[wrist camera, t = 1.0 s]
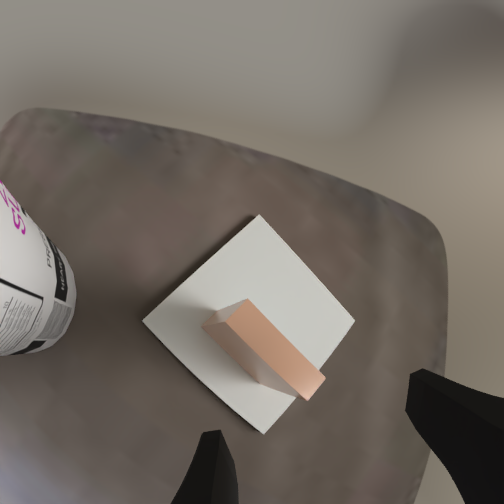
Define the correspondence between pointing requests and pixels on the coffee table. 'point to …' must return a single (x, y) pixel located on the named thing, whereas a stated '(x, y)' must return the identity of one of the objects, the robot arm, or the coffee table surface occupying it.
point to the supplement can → (31, 283)
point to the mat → (270, 305)
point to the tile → (263, 350)
